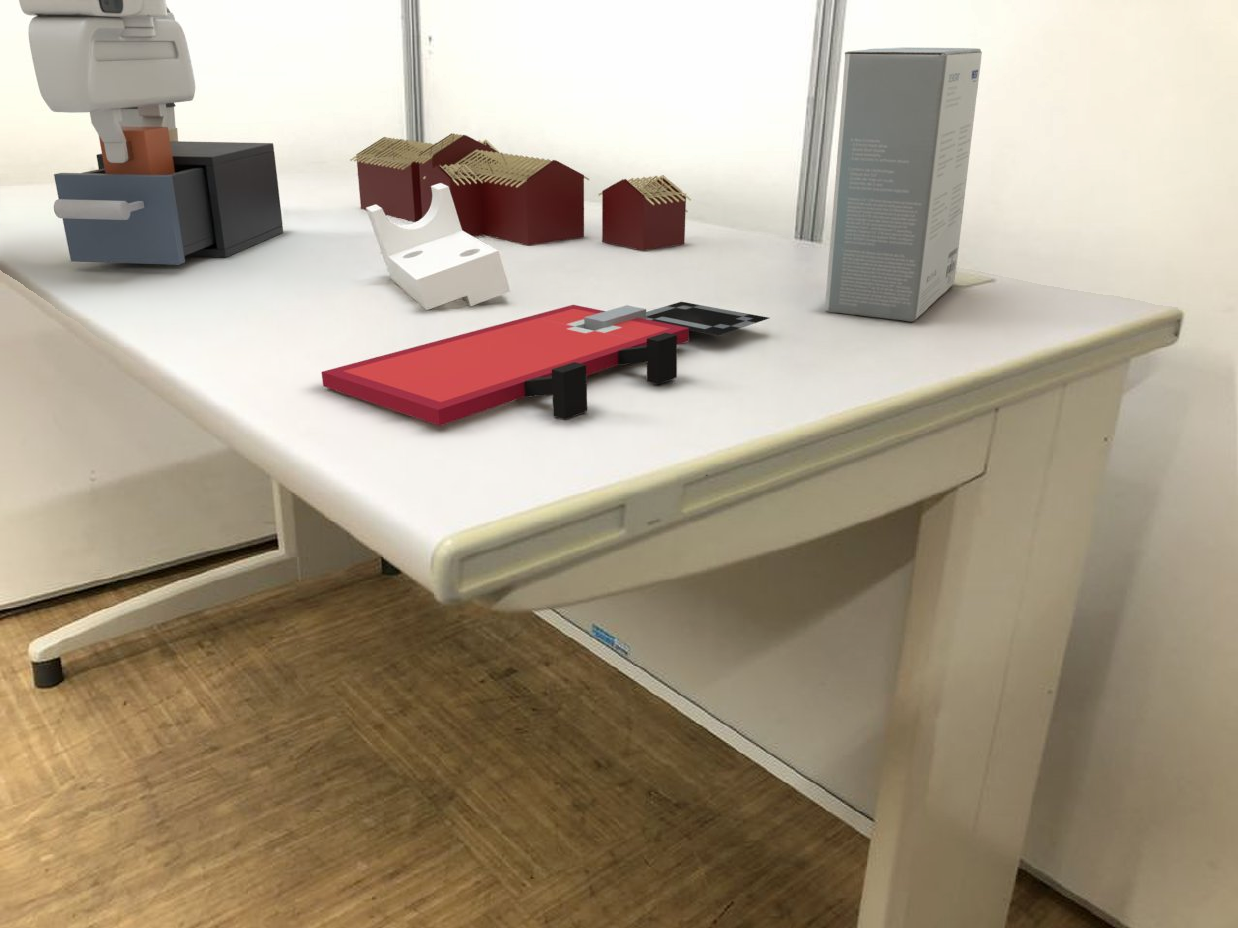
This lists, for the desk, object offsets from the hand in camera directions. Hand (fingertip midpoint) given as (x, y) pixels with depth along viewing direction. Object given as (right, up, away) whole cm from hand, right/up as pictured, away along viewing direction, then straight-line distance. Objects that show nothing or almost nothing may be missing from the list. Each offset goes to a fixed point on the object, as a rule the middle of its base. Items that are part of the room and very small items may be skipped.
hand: (137, 159), depth 95 cm
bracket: (+29, -13, -6) cm, 33 cm away
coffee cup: (-13, +2, +31) cm, 33 cm away
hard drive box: (+68, -14, -7) cm, 70 cm away
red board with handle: (+42, -22, -26) cm, 54 cm away
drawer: (0, -8, +3) cm, 9 cm away
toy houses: (+32, 0, +25) cm, 41 cm away
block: (0, -2, +1) cm, 2 cm away
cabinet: (+1, -5, +13) cm, 14 cm away
